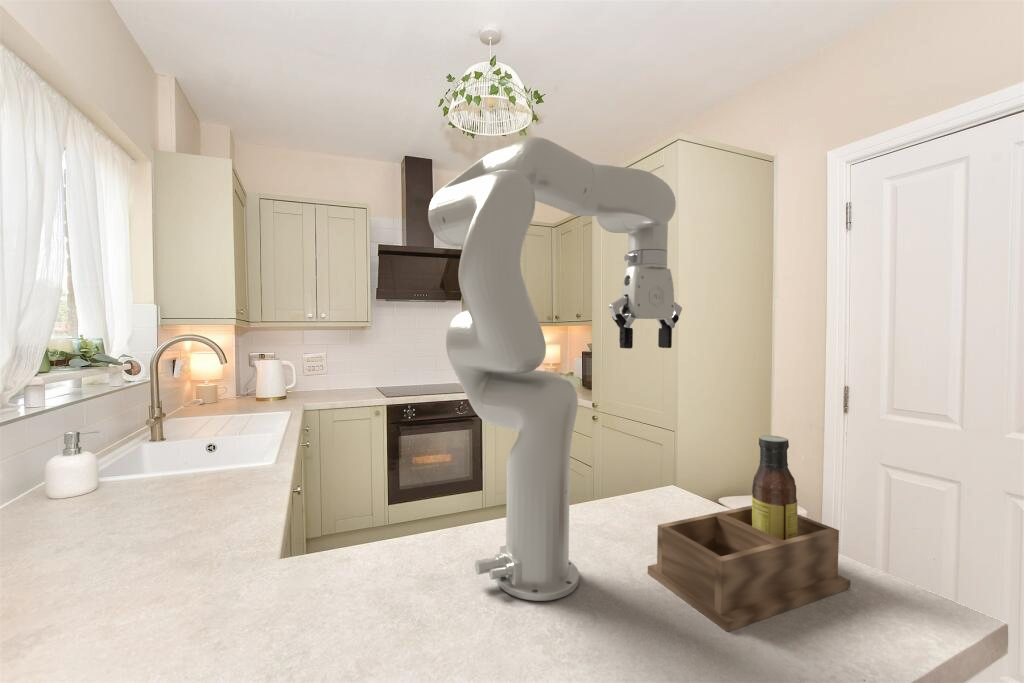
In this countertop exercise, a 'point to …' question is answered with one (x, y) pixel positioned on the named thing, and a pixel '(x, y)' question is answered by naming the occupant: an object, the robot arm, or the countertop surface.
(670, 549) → the caddy
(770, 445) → the sauce bottle
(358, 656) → the countertop surface
